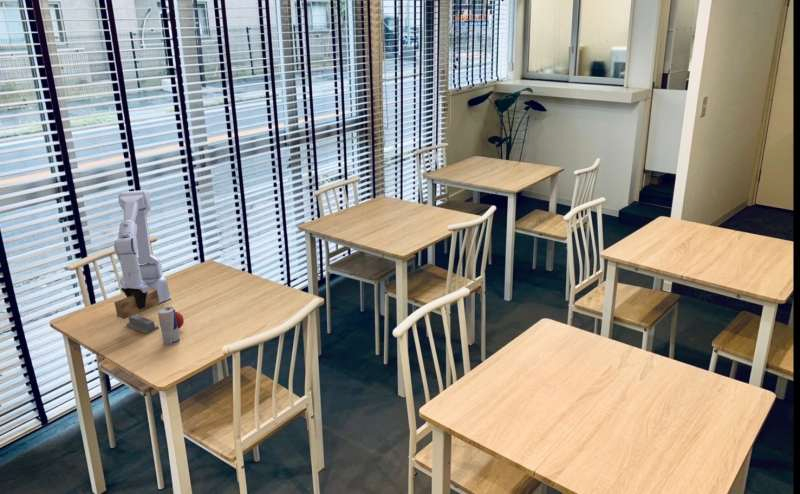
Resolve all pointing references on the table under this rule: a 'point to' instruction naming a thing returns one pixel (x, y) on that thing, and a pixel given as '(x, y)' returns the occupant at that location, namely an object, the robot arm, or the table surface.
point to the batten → (135, 304)
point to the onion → (179, 319)
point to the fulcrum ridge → (141, 324)
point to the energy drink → (169, 326)
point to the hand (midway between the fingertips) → (138, 306)
